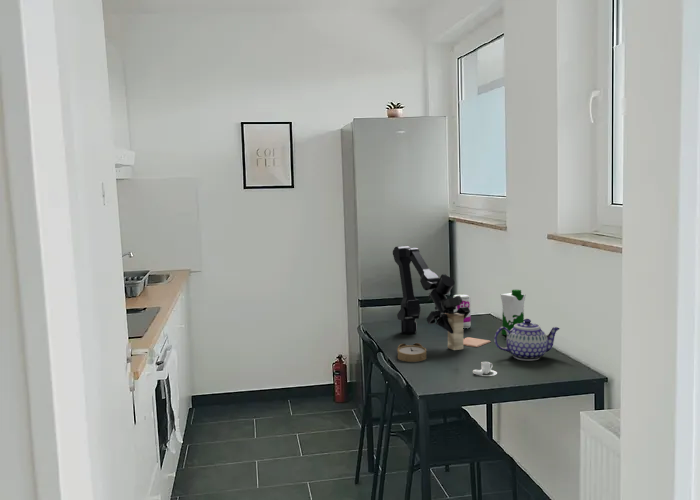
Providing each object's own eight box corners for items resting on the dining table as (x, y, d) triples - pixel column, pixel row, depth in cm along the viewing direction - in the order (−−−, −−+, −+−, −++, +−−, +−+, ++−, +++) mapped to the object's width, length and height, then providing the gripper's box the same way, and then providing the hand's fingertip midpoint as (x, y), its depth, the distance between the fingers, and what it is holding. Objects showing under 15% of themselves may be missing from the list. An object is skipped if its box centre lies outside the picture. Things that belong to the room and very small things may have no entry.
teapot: (497, 363, 247) (497, 323, 246) (490, 352, 262) (490, 315, 261) (565, 362, 246) (566, 322, 245) (554, 351, 262) (554, 314, 260)
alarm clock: (399, 355, 251) (394, 339, 265) (399, 367, 252) (394, 350, 267) (429, 354, 252) (422, 338, 266) (428, 366, 253) (422, 349, 267)
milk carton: (513, 337, 286) (513, 292, 284) (498, 334, 293) (498, 289, 291) (527, 335, 290) (527, 289, 288) (512, 331, 298) (512, 287, 296)
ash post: (447, 347, 271) (447, 314, 270) (456, 346, 273) (456, 312, 272) (454, 350, 267) (454, 316, 266) (463, 348, 269) (463, 314, 268)
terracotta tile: (453, 343, 279) (453, 342, 279) (468, 338, 287) (468, 337, 287) (476, 347, 271) (476, 345, 271) (490, 342, 279) (490, 340, 279)
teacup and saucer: (473, 377, 231) (473, 366, 231) (470, 371, 239) (470, 360, 239) (499, 377, 231) (499, 365, 230) (495, 370, 239) (495, 359, 238)
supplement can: (472, 329, 305) (471, 296, 303) (454, 329, 305) (453, 297, 304) (469, 325, 313) (469, 293, 312) (451, 325, 313) (451, 294, 312)
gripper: (430, 291, 267) (447, 323, 258) (467, 287, 276) (484, 318, 267) (419, 308, 275) (435, 339, 266) (455, 303, 283) (472, 333, 275)
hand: (457, 332), depth 268 cm, fingers closed on ash post, 5 cm apart
